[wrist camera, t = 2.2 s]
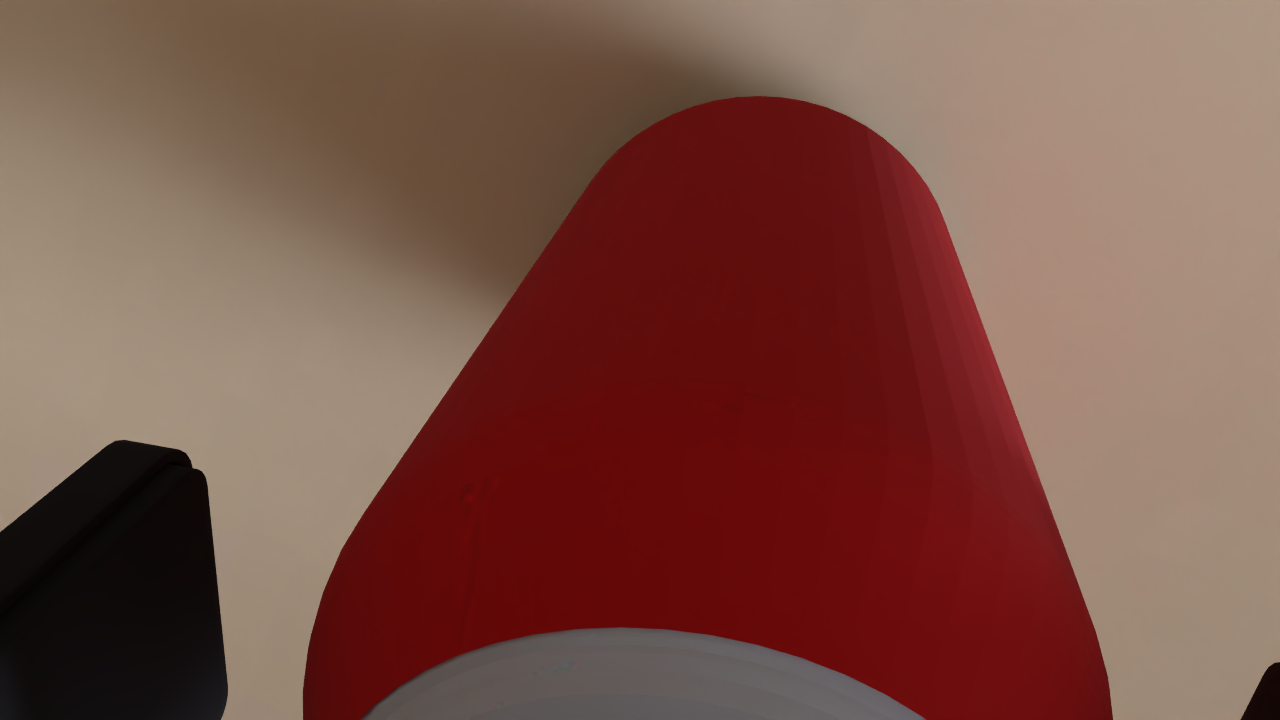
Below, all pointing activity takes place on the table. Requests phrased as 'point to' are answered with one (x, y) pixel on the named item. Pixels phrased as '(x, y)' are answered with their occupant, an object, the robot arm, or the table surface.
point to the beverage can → (720, 468)
